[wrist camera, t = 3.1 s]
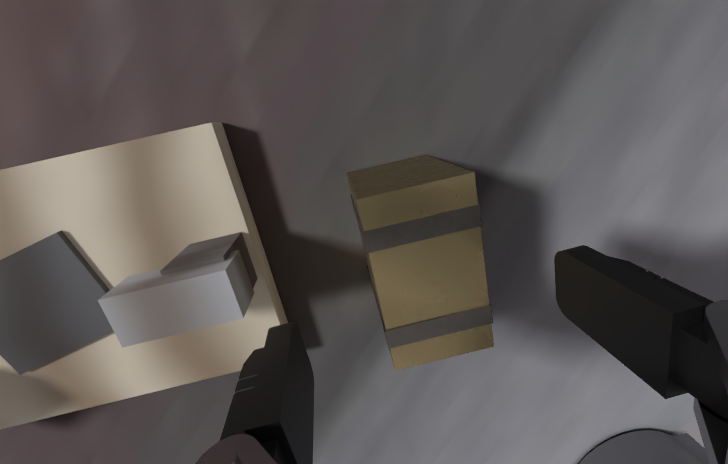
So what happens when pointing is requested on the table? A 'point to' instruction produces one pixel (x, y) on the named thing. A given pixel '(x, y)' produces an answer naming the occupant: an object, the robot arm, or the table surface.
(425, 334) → the tan rectangular block
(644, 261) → the table surface
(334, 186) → the table surface
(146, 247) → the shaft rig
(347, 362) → the table surface
